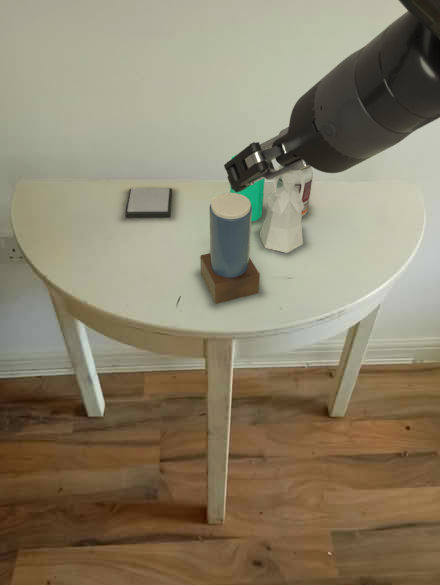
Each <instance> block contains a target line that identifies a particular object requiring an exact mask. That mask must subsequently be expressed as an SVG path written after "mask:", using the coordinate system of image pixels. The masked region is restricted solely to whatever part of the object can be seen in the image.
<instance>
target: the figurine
mask: <svg viewBox="0 0 440 585" xmlns="http://www.w3.org/2000/svg"><path fill="white" fill-rule="evenodd" d="M283 168H284V167H283ZM279 169H281V167H279V166H278V167H277V168H275V170H276V171H277V170H279ZM303 171H304V170H296V171H294V170H293V171H291V172H289V173H287V174H285V175H282V176H281V178H282V182H283V186H281V187H279V188H277V183H278V180H279V178H280V177H278V178H276V179H273V191H272V192H271V194H270V195H268V196H267V198H266V199H265V200H266V202H267V204H268V207H267V212H266V216H265V219H264V222H263V224H262V227H261V229H260V232H259V237H260V239H261V241H262V243H263V246H264V248H265V249H269V250H274V251H278V252H282V253H285V254H288V253H290V252H292V251H294V250H295V249H297V248H298V247H300V246H302V245H303V244H304V241H303V240H304V238H303V226H302V217H303V216H302V209H303V208H304V205H303V201H302V196H303V191H304V186H305V183H304V176H303ZM299 176H300V177H299ZM299 178H300V180H301V191H300V193H299V191H298V188H295V187H294V186H295V183H297V182H298V179H299Z"/></svg>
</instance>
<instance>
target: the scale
mask: <svg viewBox="0 0 440 585" xmlns="http://www.w3.org/2000/svg"><path fill="white" fill-rule="evenodd" d="M172 198H173V188H171V187H131V188H129V191H128V196H127V202H126V207H125V213H124V215H125V218H126V219H152V218H155V219H156V218H160V219H161V218H165V219H166V218H171V211H172V201H173V200H172Z"/></svg>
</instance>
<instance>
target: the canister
mask: <svg viewBox="0 0 440 585" xmlns="http://www.w3.org/2000/svg"><path fill="white" fill-rule="evenodd" d="M251 219H252V206H251V203H250V201H249V199H248V198H247V197H245V196H243V195H241V194H238V193H230V192H224V193H220V194H218V195H216V196H215V197H213V198H212V200H211V203H210V204H209V253H210V266H211V269H212V270H213V272H215V273H216V274H217V275H219V276H222V277H228V278H231V277H237V276H240V275H242V274H244V273H245V272H246V271H247V269H248V267H249V257H250V253H251V252H250V251H251V234H252V222H251Z"/></svg>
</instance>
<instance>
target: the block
mask: <svg viewBox="0 0 440 585" xmlns="http://www.w3.org/2000/svg"><path fill="white" fill-rule="evenodd" d="M199 258H200V275H201V277H202V279H203V282H204V284H205V286H206V288H207V290H208V292H209V294H210V296H211V298H212V300H213V302H214V304H215V305H217V304H222V303H225V302H229V301H232V300H237V299H242V298H244V297H248V296H252V295H256V294H258V293H259V291H260V290H259V289H260V279H261V278H260V277H261V275H260V272H259V271H258V269H257V267H256V266H255V264H254V262H253V260H252V259H251V257H250V256H249V267H248V269H247V271H246V272H245V273H244V274H242V275H240V276H237V277H231V278H228V277H222V276H219V275H217V274H216V273H215V272H213V270H212V269H211V266H210V252H209V253H206V254H201V255H200V256H199Z"/></svg>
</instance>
